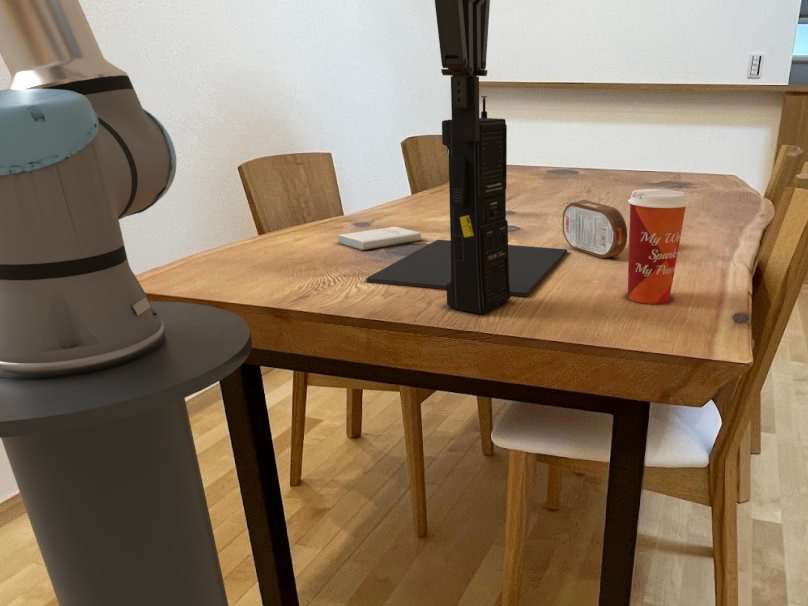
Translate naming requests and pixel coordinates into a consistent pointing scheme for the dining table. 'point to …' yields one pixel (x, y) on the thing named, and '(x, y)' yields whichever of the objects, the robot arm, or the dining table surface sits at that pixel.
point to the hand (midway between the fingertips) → (466, 140)
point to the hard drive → (378, 238)
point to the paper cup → (654, 243)
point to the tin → (594, 228)
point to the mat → (435, 267)
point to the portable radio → (478, 217)
